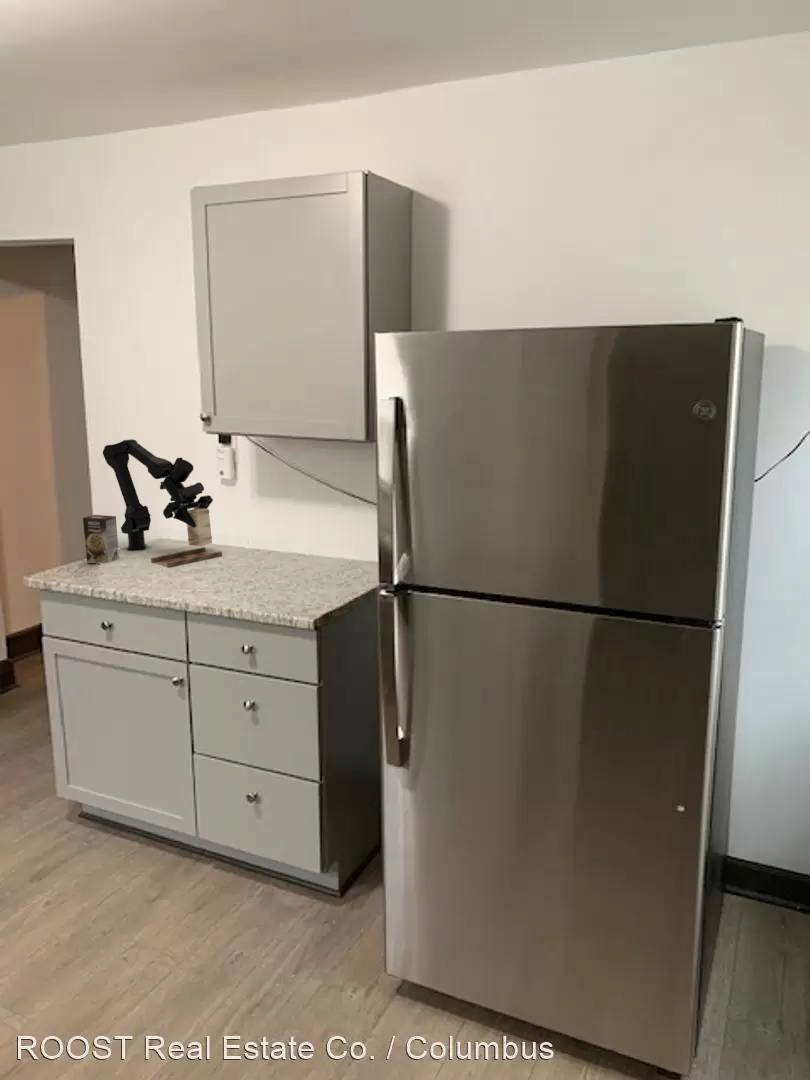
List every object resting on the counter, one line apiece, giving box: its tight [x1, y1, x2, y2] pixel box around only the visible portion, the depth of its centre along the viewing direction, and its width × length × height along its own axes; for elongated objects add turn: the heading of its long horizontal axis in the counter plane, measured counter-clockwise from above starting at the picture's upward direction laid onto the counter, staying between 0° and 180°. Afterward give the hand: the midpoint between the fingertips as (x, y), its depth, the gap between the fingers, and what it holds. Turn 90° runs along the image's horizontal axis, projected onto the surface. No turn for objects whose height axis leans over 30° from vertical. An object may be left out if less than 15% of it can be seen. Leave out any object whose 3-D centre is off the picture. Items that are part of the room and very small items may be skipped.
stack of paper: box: [186, 508, 213, 547], centre depth 289 cm, size 6×6×12 cm
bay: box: [150, 546, 223, 569], centre depth 287 cm, size 21×11×2 cm, turn 137°
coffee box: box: [82, 514, 120, 565], centre depth 287 cm, size 9×6×16 cm
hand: (201, 525), depth 288 cm, fingers closed on stack of paper, 5 cm apart
